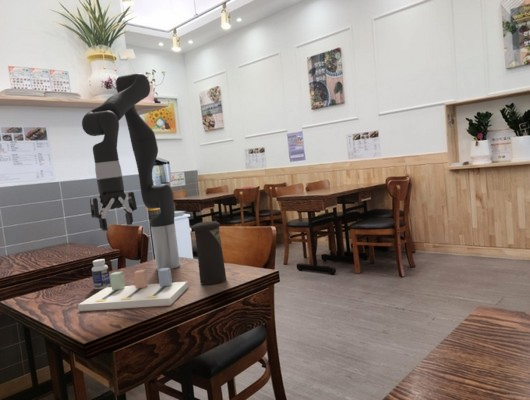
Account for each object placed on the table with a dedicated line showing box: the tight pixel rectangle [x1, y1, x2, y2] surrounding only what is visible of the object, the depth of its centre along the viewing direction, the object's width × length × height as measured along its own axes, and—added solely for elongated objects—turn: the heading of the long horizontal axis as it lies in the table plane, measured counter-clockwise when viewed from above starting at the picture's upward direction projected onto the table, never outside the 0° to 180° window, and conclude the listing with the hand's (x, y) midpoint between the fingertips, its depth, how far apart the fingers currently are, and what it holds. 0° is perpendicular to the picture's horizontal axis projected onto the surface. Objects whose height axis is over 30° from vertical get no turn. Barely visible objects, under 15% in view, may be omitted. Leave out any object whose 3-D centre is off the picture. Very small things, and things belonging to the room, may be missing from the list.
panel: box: [77, 281, 189, 312], centre depth 124 cm, size 16×28×2 cm, turn 83°
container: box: [192, 220, 227, 286], centre depth 134 cm, size 9×9×20 cm
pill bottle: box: [91, 258, 111, 290], centre depth 143 cm, size 5×5×10 cm
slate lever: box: [157, 268, 173, 286], centre depth 128 cm, size 3×3×5 cm
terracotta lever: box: [133, 269, 149, 288], centre depth 129 cm, size 3×3×5 cm
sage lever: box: [109, 270, 126, 290], centre depth 130 cm, size 3×3×5 cm
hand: (117, 227), depth 128 cm, fingers open, 8 cm apart
